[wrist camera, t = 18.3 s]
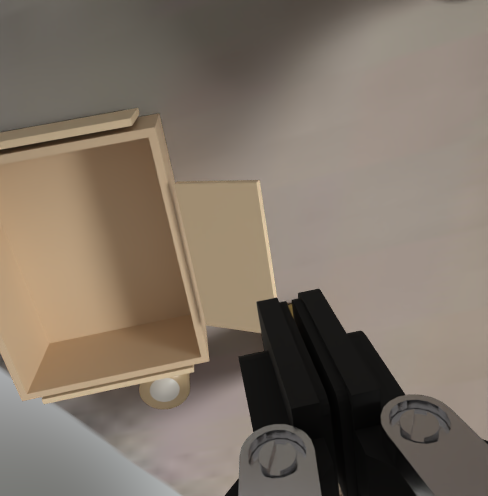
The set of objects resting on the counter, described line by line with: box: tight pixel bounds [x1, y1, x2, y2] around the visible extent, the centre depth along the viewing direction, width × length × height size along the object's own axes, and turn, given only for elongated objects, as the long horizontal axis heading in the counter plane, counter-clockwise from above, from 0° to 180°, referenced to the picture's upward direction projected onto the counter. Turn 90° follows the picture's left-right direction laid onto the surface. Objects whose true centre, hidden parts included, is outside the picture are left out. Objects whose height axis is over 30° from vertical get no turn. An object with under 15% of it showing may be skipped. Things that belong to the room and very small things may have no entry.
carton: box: [0, 108, 209, 404], centre depth 39 cm, size 22×16×8 cm
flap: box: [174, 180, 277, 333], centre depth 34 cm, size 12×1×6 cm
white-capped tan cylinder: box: [139, 373, 190, 409], centre depth 46 cm, size 5×5×5 cm
